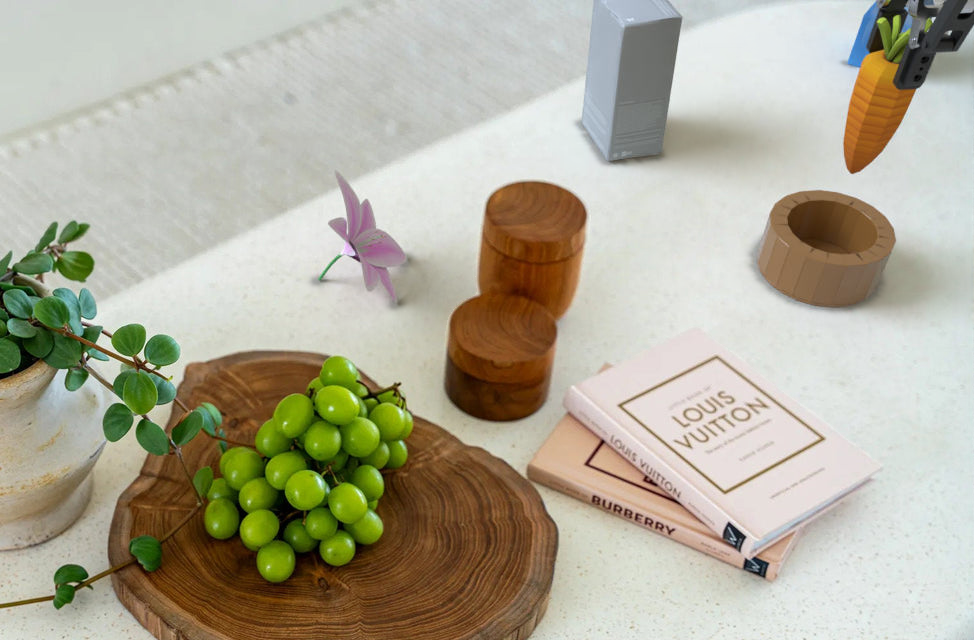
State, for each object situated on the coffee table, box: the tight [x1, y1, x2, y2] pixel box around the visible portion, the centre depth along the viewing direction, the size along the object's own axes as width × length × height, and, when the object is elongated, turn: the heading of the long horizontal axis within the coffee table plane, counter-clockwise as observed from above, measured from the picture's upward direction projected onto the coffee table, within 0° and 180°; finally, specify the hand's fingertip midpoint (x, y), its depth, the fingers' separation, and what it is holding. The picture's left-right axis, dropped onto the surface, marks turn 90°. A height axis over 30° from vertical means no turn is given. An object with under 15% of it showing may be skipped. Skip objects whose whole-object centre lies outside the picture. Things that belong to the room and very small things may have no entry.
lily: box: [317, 169, 408, 304], centre depth 105 cm, size 12×12×10 cm
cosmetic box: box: [580, 0, 683, 162], centre depth 119 cm, size 8×7×16 cm
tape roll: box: [756, 189, 897, 308], centre depth 108 cm, size 11×11×5 cm
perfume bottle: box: [846, 0, 935, 69], centre depth 132 cm, size 6×6×12 cm
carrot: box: [842, 15, 933, 175], centre depth 97 cm, size 5×5×15 cm
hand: (892, 68), depth 95 cm, fingers closed on carrot, 5 cm apart
